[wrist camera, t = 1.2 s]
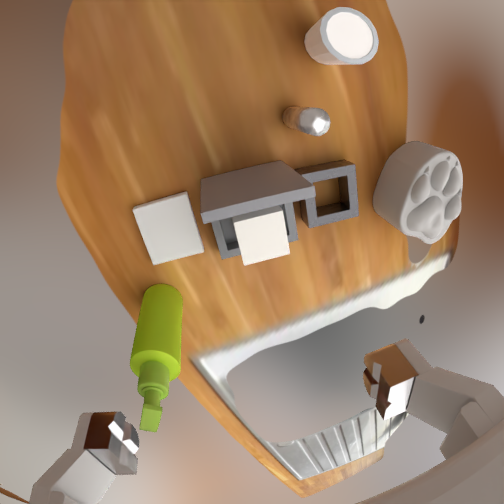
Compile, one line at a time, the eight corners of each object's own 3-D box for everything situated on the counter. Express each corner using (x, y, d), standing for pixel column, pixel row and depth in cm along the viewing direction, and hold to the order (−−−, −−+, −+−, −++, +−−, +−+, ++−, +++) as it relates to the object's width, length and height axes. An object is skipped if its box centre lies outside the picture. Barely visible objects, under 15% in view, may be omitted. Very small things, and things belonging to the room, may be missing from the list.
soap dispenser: (139, 316, 43) (121, 429, 26) (146, 279, 41) (123, 396, 23) (176, 324, 45) (173, 438, 28) (186, 289, 42) (185, 408, 25)
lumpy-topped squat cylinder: (364, 209, 41) (397, 234, 33) (398, 127, 36) (438, 137, 28) (412, 228, 44) (444, 253, 36) (443, 157, 39) (481, 172, 31)
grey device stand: (200, 179, 36) (200, 213, 25) (280, 160, 36) (314, 186, 26) (220, 250, 40) (228, 305, 30) (292, 232, 41) (324, 279, 30)
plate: (134, 206, 36) (132, 209, 35) (187, 191, 36) (186, 194, 35) (154, 260, 40) (153, 265, 39) (204, 247, 40) (204, 251, 39)
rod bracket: (294, 169, 37) (301, 174, 34) (344, 159, 37) (355, 164, 34) (302, 219, 40) (309, 228, 38) (349, 208, 40) (358, 216, 38)
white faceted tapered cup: (298, 17, 28) (319, 1, 21) (349, 25, 28) (377, 14, 22) (299, 67, 31) (321, 60, 25) (351, 72, 32) (379, 69, 26)
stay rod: (280, 108, 33) (300, 110, 26) (302, 104, 33) (328, 106, 26) (284, 130, 34) (305, 138, 27) (306, 126, 34) (332, 133, 27)
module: (226, 198, 37) (233, 222, 30) (266, 188, 37) (282, 210, 30) (236, 235, 39) (244, 267, 32) (273, 226, 39) (290, 255, 32)
